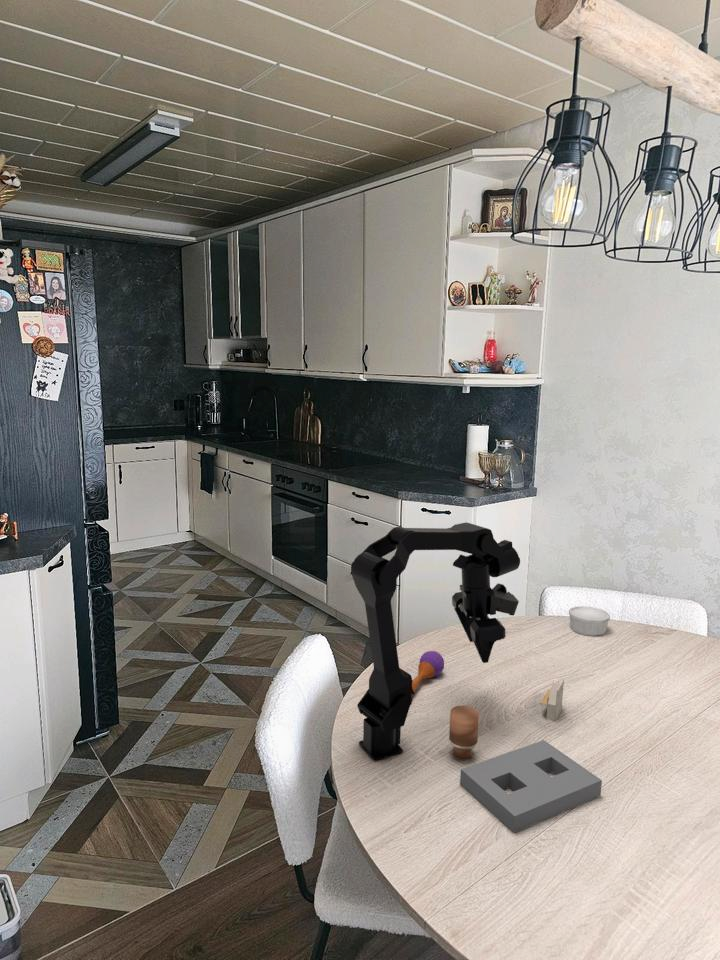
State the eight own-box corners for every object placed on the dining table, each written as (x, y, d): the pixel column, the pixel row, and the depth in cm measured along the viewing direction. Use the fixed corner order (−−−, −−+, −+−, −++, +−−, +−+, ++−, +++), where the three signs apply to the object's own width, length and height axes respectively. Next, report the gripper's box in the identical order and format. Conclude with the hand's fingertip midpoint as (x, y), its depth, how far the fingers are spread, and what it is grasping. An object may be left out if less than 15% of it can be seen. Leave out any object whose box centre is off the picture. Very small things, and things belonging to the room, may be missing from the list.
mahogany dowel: (459, 766, 123) (462, 723, 121) (442, 751, 127) (444, 709, 126) (482, 758, 125) (485, 716, 124) (465, 743, 130) (467, 702, 129)
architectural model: (539, 719, 141) (541, 686, 139) (547, 705, 147) (549, 673, 145) (555, 723, 139) (557, 690, 138) (562, 709, 145) (565, 677, 144)
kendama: (387, 685, 145) (423, 646, 162) (391, 710, 146) (427, 668, 163) (411, 687, 142) (445, 647, 159) (415, 712, 143) (449, 670, 160)
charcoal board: (513, 832, 105) (514, 816, 105) (460, 784, 118) (460, 768, 117) (600, 795, 115) (601, 780, 115) (542, 754, 127) (543, 739, 127)
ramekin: (581, 619, 196) (582, 602, 195) (616, 631, 187) (617, 613, 187) (559, 628, 189) (561, 611, 188) (595, 641, 180) (596, 623, 179)
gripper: (530, 596, 128) (531, 668, 131) (499, 563, 146) (500, 627, 149) (474, 603, 127) (477, 676, 130) (450, 568, 145) (453, 633, 148)
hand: (478, 651), depth 140 cm, fingers open, 9 cm apart
